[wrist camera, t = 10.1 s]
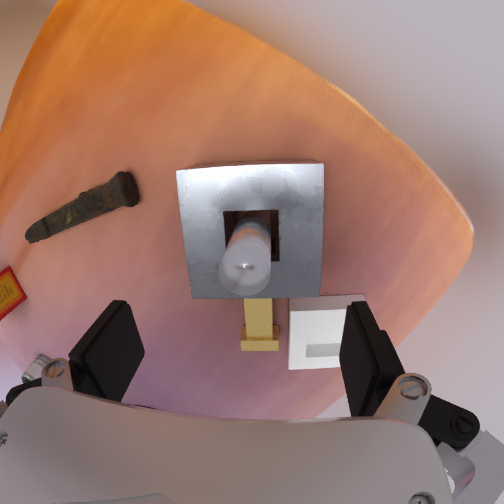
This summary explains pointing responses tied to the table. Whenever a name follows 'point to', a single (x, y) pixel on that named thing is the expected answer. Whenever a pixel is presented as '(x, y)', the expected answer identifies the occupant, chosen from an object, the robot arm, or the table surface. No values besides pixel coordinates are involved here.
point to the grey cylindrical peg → (248, 254)
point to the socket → (254, 198)
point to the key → (259, 326)
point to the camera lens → (35, 369)
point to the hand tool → (87, 207)
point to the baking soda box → (9, 292)
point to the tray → (317, 330)
